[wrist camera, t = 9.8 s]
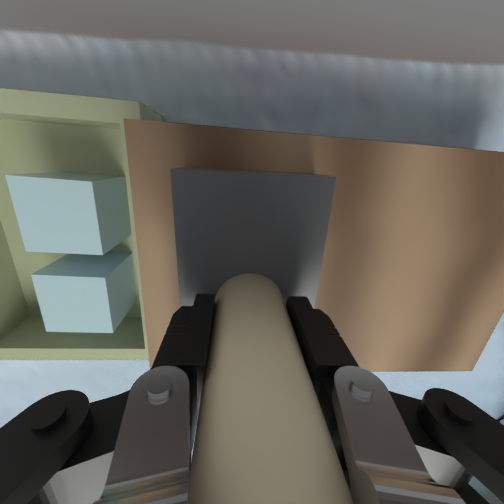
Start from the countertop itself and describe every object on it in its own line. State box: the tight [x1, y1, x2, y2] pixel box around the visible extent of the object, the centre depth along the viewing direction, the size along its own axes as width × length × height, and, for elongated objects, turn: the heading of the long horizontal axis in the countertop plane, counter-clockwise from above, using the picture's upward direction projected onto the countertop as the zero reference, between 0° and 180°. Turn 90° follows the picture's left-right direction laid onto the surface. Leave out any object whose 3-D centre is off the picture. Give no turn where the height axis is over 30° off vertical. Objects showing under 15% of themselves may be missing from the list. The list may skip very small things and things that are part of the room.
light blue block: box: [31, 252, 137, 333], centre depth 16 cm, size 4×4×4 cm
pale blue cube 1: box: [5, 171, 131, 255], centre depth 14 cm, size 4×4×4 cm
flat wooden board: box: [123, 118, 504, 372], centre depth 16 cm, size 22×14×6 cm, turn 86°
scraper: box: [170, 167, 353, 504], centre depth 8 cm, size 6×11×10 cm, turn 177°
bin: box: [0, 88, 163, 360], centre depth 15 cm, size 12×16×4 cm
